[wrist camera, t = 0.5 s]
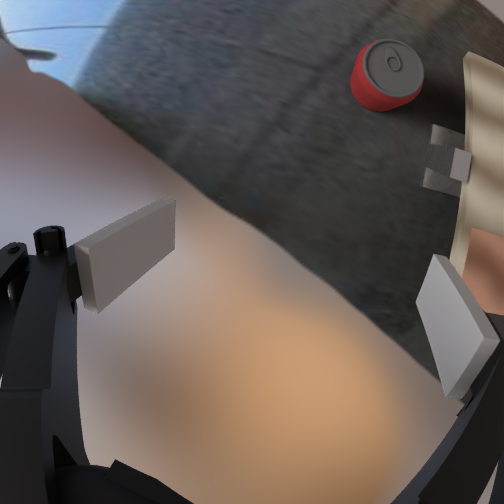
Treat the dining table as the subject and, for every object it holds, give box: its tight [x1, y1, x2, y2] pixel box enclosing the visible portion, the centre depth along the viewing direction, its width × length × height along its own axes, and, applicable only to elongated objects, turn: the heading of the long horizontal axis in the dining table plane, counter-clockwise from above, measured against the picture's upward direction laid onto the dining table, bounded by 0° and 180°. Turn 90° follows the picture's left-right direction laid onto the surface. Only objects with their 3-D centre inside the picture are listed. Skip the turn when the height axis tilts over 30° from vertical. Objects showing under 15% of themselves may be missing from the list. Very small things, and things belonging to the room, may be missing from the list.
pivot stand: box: [420, 124, 472, 197], centre depth 26 cm, size 8×17×10 cm, turn 84°
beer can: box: [350, 38, 425, 112], centre depth 25 cm, size 7×7×12 cm
